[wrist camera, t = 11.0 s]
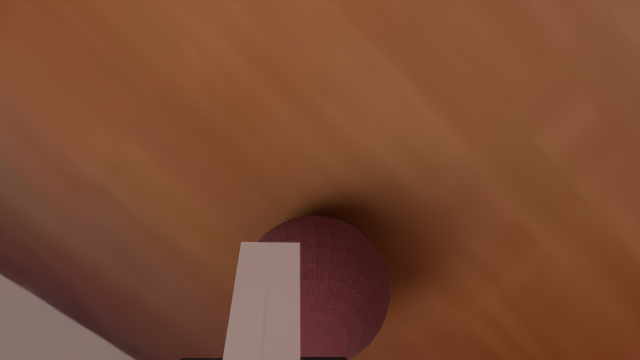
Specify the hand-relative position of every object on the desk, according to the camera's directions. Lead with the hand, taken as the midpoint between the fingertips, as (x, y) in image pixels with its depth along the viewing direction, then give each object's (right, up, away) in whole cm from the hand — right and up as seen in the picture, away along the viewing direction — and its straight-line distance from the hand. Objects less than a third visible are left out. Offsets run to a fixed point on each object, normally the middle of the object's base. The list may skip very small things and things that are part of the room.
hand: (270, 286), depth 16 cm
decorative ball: (+1, -2, +29) cm, 29 cm away
